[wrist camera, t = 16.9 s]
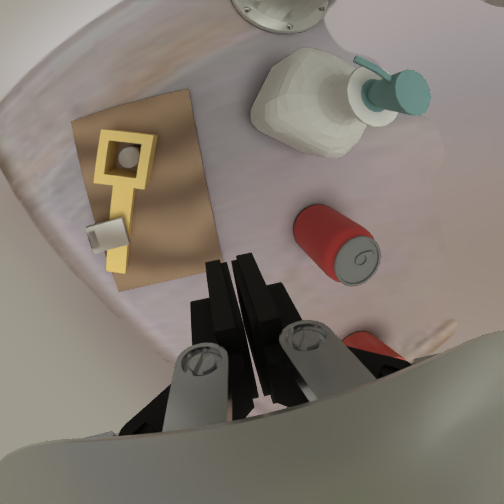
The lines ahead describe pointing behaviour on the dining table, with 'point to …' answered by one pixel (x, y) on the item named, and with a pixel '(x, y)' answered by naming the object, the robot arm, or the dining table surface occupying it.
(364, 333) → the flower pot
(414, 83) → the soap bottle
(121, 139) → the link
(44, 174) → the dining table surface
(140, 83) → the dining table surface
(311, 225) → the beer can
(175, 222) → the bracket base
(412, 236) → the dining table surface
